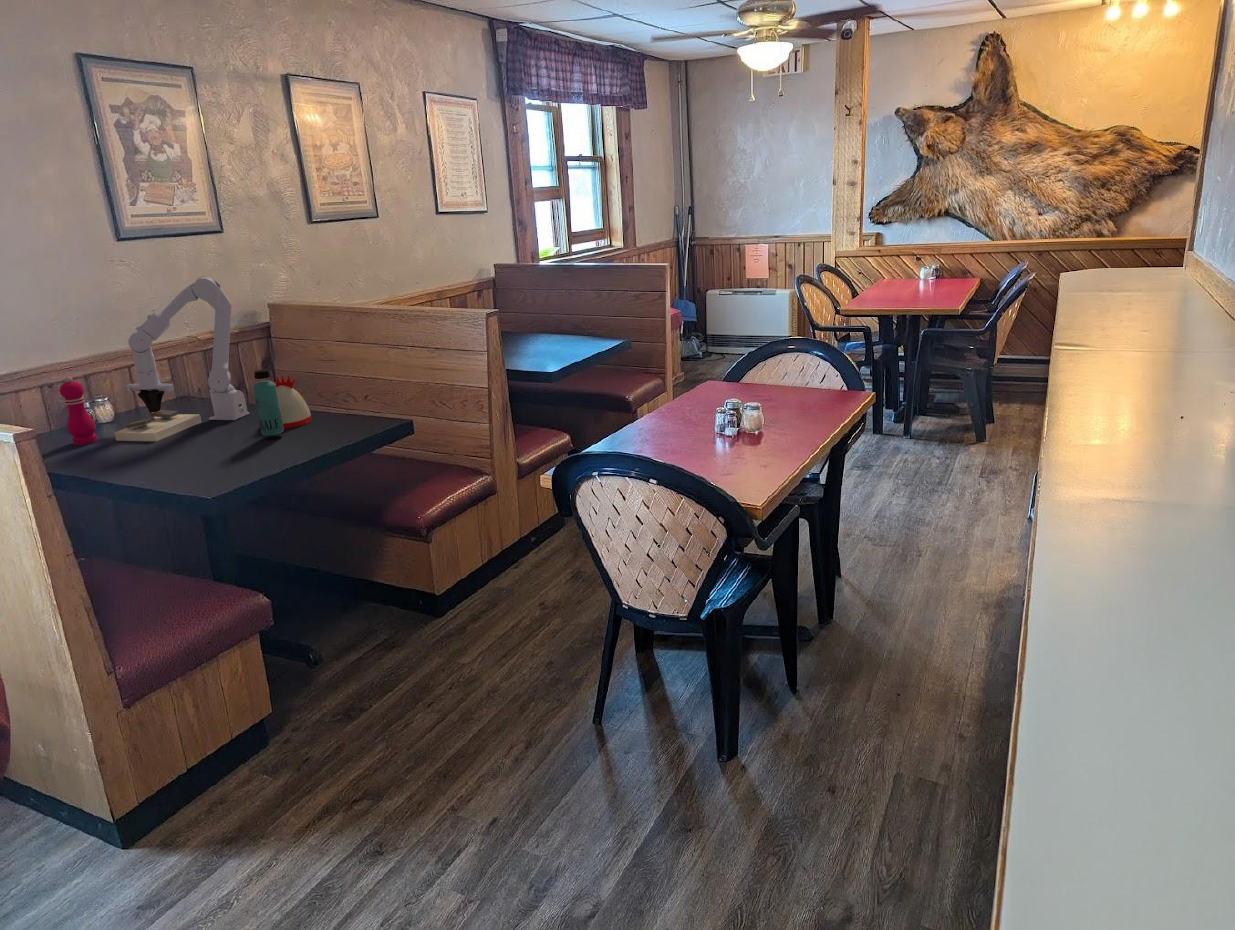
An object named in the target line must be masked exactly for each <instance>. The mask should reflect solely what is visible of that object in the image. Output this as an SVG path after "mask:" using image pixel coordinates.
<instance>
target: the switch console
mask: <svg viewBox="0 0 1235 930" xmlns="http://www.w3.org/2000/svg"><path fill="white" fill-rule="evenodd" d="M154 418H155V421H153V422H150V423H148V424H145V425H140V426H136V427H132V428H127V427H125V428H123V429H119V430H118V431H115V432H114V437H115V440H116V441H120V442H122V441H123V442H158V441H161V440H164V439H165V438H169V437H171V436H172V435H176V434H178V433H180V432H182V431H184V430H187V429H188V428H189V429H190V428H191V427H193V426H196V425H199V424H201V423H202V417H201V414H194V413H193V414H192V413H191V414H189V413H188V414H187V413H186V414H182V413H181V414H180V413H179V414H178V415H176V416H173V417H171V418H166V417H154Z"/></svg>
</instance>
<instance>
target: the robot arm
mask: <svg viewBox="0 0 1235 930" xmlns="http://www.w3.org/2000/svg"><path fill="white" fill-rule="evenodd" d="M198 299H200V300H202V301H204V302H206V303H207V304H209V306H210V307H212V309H213V310H215V311H214V327H213V328H214V329H213V330H214V331H213V345H212V347H213V348H212V349H213V350H212V362H211V363H212V364H211V370H210V372H209V375H208V378H207V384H208V386H209V388H210V389H209V390H208V391H209V395H210V401H211V405H212V409H213V415H214V416H211V417H209V418H208V420H209V421H211V420H212V421H215V420H216V421H236V420H238V419H240V418H242V417H245V416H248V415H249V414H250V412H249V411H248V407H247V403H246V398H245V394H244V392H243V391H242V390H237V389H236V388H235V387H234V385H232V384H231V380H232V376H231V375H232V374H231V372H230V370H229V356H230V355H229V354H230V338H231V337H230V335H231V321H232V319H231V318H232V302H231V300H230V299H229V297H228V296H227V294H226V292H225V291H224V290H223V287H222V286H221V284H220V283H219V282H218V281H217V280H215V279H214V278H213V277H211V276H208V275H202V276H199V277H198V278H197V279H196V280H195V281H194V282H191V283H190V284H188V286H186V287H185V288H183V289H181V291H180V292H178V294H177V295H176V297H174V298H173V299H172V301H171V302H170V303H168V304H167V306H166V307H165V308H164V309H163V310H162V311H161V312H160V311H159V312H158V311H157V312H155V311H154V312H153V313H148V315H147V316H146V318H147V319H146V320H145V321H144V322H143V323H142V324H141V325H137V326H136V328H135V330H136V331H134V332H132V334H131V335H130V336H129V338H128V343H127V344H128V346H129V348H130V349H131V353H132V359H133V364H134V369H135V373H136V377H137V382H138V383H128V384H126V386H125V387H126V391H127V392H133V391H134V392H138V393H137V396H138V397H139V399H141V400H142V402H143V403H144V405H145V406H146V407H147V410H148V412H149V414H150V413H152V412H158V411H160V410H162V409H161V408H162V406H161V405H162V400H163V397H164V394H165V392H173V391H174V390H175V388H174V384H173V383H164V382H161V381H160V377H159V372H158V369H157V364H156V358H155V354H154V353H153V347H152V344H153V341H155V342H156V341H157V340H158V339H159V338H160V337H161V336H162V335H163V334H164V333H165V332H166V330H168V329H169V328H170V327H171V321H170V320H171V319H172V318H173V317H174V316H175V315H176V314H177V313H178V312H179V311H181V310H182V309H183V308H184V307H185V306H186V305H187V304H188V303H190V302H195V301H198Z"/></svg>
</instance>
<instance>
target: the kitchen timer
mask: <svg viewBox="0 0 1235 930" xmlns="http://www.w3.org/2000/svg"><path fill="white" fill-rule="evenodd" d="M287 375H288V376H287V380H285V378H284V376H283V374H281V381H280V378H279V377H278V375H275V376H276V377H275V378H276V380H275V381H274V380H273V379H271V380H270V381H272V382H274V383H275V384H276V390H277V395H278V401H279V406H280V410H281V415H282V422H283V425H284V426H283V427H284V430H285V429H292V428H296V427H301V426H304V425H306V424H307V425H308V424H309V423H310V422H311V421H312V414H311V411H310V409H309V405H308V404H307V403H306V401H305V397H304V396H302V395H301V394H300V392H298V391H297V390H296V389H294V387H293V386H294V384H295V380H296V377H294V378H293V379H292V381H291V379H290V378H291V377H290V374H287Z"/></svg>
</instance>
